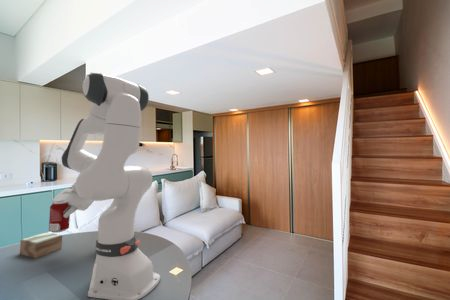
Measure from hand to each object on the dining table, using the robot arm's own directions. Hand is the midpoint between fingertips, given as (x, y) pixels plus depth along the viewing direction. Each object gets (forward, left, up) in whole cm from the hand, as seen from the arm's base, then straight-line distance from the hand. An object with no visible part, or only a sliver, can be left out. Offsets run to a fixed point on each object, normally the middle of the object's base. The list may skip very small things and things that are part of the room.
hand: (58, 215), depth 89 cm
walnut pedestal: (+10, 0, -17) cm, 19 cm away
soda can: (0, -1, -7) cm, 7 cm away
